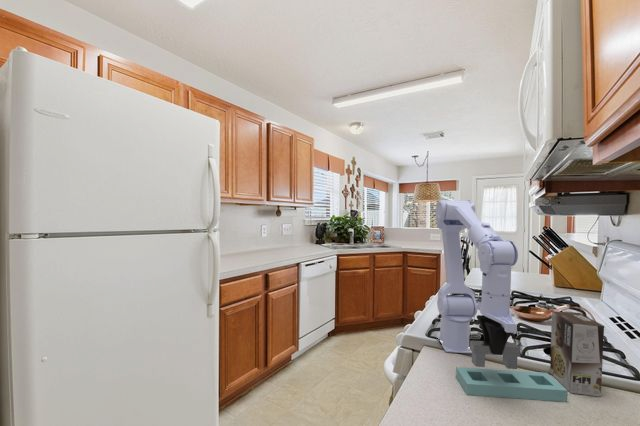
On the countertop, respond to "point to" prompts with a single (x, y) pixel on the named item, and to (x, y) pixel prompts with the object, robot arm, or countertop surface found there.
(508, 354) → the grey arch block
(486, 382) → the teal slotted board
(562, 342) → the coffee box
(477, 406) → the countertop surface
